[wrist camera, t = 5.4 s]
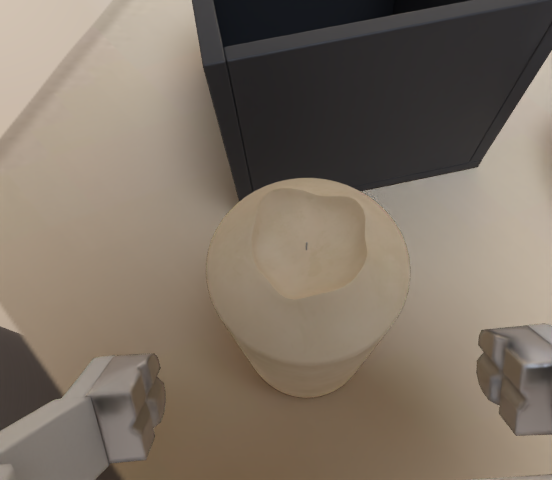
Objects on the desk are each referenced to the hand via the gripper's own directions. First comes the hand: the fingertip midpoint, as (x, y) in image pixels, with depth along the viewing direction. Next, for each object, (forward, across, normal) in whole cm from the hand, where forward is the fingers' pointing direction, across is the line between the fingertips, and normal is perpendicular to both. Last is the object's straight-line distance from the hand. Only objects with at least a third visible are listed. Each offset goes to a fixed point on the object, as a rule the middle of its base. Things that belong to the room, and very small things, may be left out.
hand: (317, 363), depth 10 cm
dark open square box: (+18, -3, -7) cm, 19 cm away
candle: (+8, 0, +4) cm, 9 cm away
